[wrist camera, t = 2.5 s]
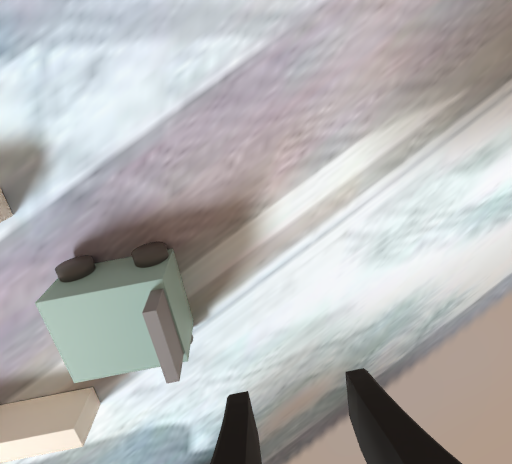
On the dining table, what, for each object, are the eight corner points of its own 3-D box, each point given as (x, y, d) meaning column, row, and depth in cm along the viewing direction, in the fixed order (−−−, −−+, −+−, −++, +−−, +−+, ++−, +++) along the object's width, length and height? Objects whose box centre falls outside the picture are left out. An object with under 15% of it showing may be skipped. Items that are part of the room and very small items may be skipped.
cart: (170, 238, 19) (150, 288, 14) (195, 328, 21) (187, 397, 16) (63, 258, 19) (5, 315, 14) (100, 346, 21) (63, 421, 16)
